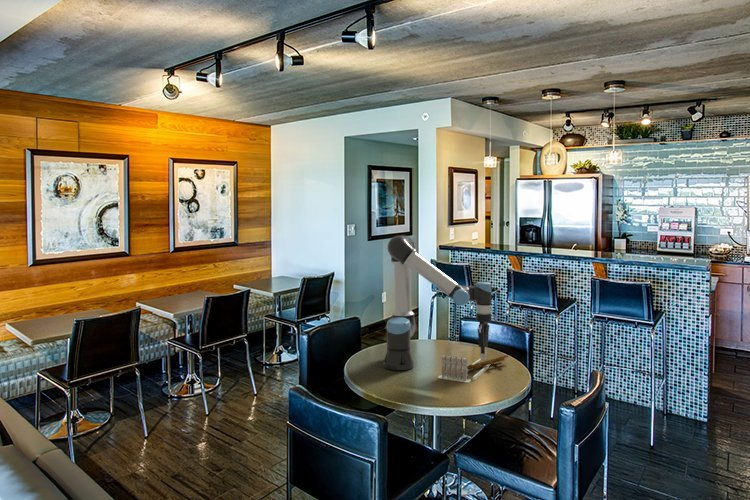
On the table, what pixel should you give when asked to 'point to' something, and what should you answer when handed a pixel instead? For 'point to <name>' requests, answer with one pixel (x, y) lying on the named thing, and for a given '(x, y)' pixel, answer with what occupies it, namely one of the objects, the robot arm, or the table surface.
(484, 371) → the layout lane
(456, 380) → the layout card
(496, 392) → the table surface
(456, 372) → the fixed fence segment
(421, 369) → the table surface
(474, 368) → the brown branch
